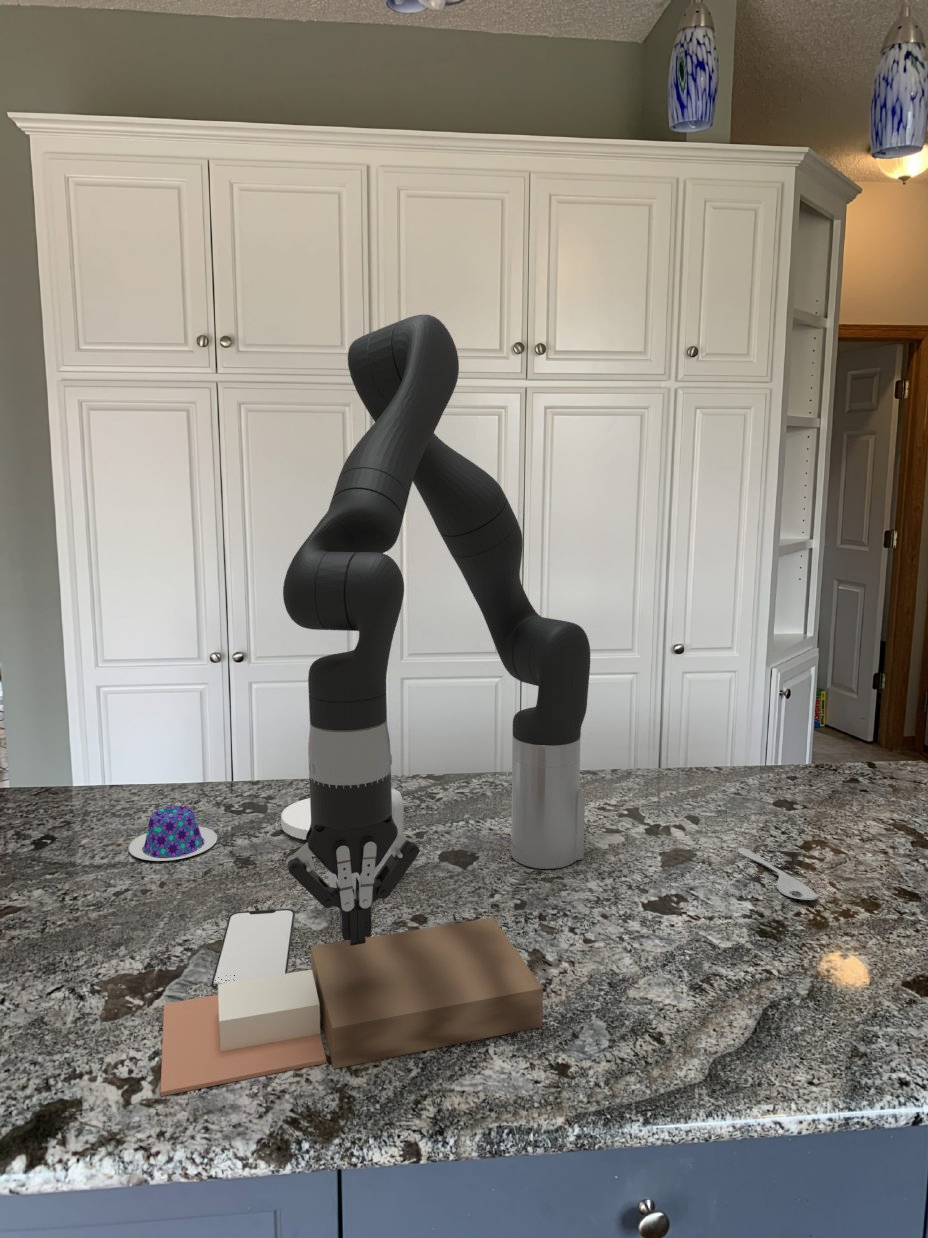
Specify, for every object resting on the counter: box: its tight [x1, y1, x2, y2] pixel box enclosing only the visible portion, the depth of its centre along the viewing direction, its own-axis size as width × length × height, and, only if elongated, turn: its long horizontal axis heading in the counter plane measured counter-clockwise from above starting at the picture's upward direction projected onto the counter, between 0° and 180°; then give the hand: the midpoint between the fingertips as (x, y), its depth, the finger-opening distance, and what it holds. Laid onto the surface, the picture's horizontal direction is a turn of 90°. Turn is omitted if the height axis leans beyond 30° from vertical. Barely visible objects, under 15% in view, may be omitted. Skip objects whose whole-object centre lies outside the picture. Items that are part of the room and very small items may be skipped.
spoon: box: [737, 847, 818, 901], centre depth 116 cm, size 4×21×2 cm, turn 11°
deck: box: [310, 917, 544, 1070], centre depth 86 cm, size 20×14×4 cm
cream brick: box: [217, 969, 321, 1051], centre depth 82 cm, size 9×6×3 cm, turn 107°
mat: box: [160, 994, 327, 1097], centre depth 81 cm, size 14×13×1 cm
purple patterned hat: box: [128, 805, 218, 862], centre depth 123 cm, size 12×12×5 cm
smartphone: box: [210, 908, 296, 991], centre depth 97 cm, size 8×1×16 cm
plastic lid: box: [280, 797, 311, 841], centre depth 130 cm, size 14×14×2 cm
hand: (355, 940), depth 83 cm, fingers closed
